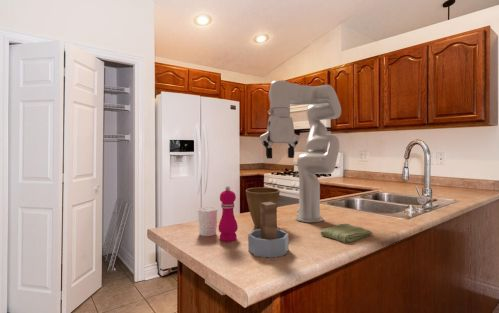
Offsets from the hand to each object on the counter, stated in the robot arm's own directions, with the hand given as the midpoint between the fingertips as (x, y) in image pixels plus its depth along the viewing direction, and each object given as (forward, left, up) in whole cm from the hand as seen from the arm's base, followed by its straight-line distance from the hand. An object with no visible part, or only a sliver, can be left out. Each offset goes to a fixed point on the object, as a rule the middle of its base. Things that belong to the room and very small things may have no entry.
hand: (280, 158), depth 110 cm
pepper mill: (-5, -20, -31) cm, 37 cm away
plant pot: (-15, 0, -31) cm, 34 cm away
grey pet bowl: (+12, -12, -30) cm, 35 cm away
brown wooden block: (+12, -12, -30) cm, 34 cm away
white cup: (-15, -25, -31) cm, 42 cm away
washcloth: (+11, +23, -31) cm, 40 cm away
